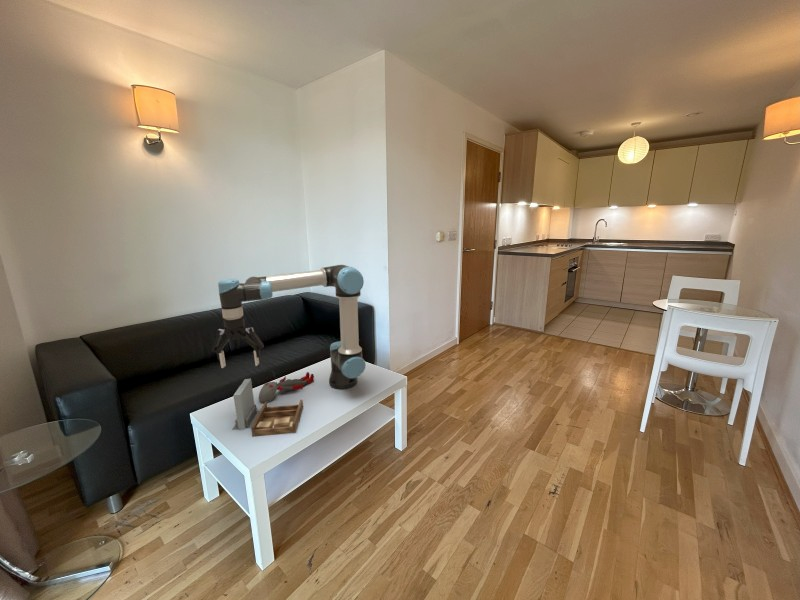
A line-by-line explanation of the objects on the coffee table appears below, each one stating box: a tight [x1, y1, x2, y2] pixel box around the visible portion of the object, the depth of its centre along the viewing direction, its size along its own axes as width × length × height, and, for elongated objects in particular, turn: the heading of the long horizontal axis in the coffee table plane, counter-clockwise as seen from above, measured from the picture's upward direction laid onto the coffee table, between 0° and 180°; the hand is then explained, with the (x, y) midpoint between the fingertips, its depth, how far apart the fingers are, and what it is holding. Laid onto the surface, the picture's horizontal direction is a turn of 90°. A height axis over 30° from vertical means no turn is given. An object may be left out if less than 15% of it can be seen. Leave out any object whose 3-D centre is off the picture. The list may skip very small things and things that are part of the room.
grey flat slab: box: [233, 378, 255, 431], centre depth 141 cm, size 14×3×16 cm, turn 7°
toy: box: [258, 371, 315, 404], centre depth 168 cm, size 16×10×30 cm
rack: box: [250, 399, 304, 437], centre depth 141 cm, size 17×19×5 cm
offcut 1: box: [256, 422, 272, 429], centre depth 135 cm, size 5×4×3 cm
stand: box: [231, 404, 260, 431], centre depth 143 cm, size 13×8×4 cm, turn 7°
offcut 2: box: [274, 417, 290, 428], centre depth 135 cm, size 6×4×2 cm, turn 103°
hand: (240, 365), depth 137 cm, fingers open, 13 cm apart
